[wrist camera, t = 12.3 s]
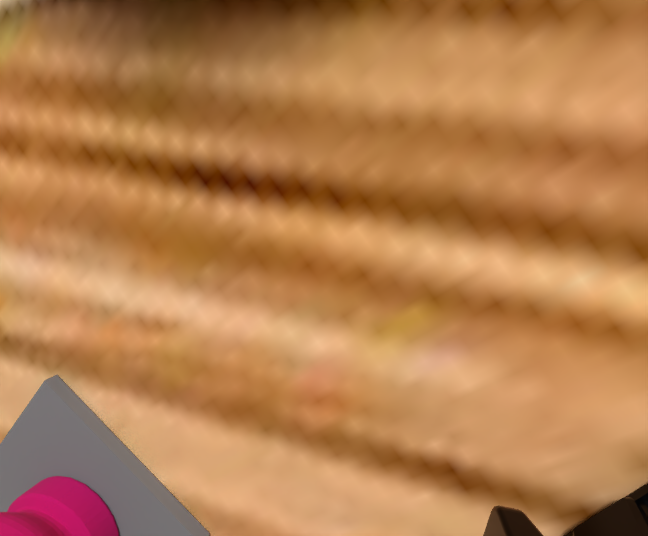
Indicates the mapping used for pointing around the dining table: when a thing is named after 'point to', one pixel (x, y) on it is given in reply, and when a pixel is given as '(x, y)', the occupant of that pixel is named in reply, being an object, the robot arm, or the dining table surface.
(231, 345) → the dining table surface
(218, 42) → the dining table surface
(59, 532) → the pepper mill
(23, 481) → the mat
